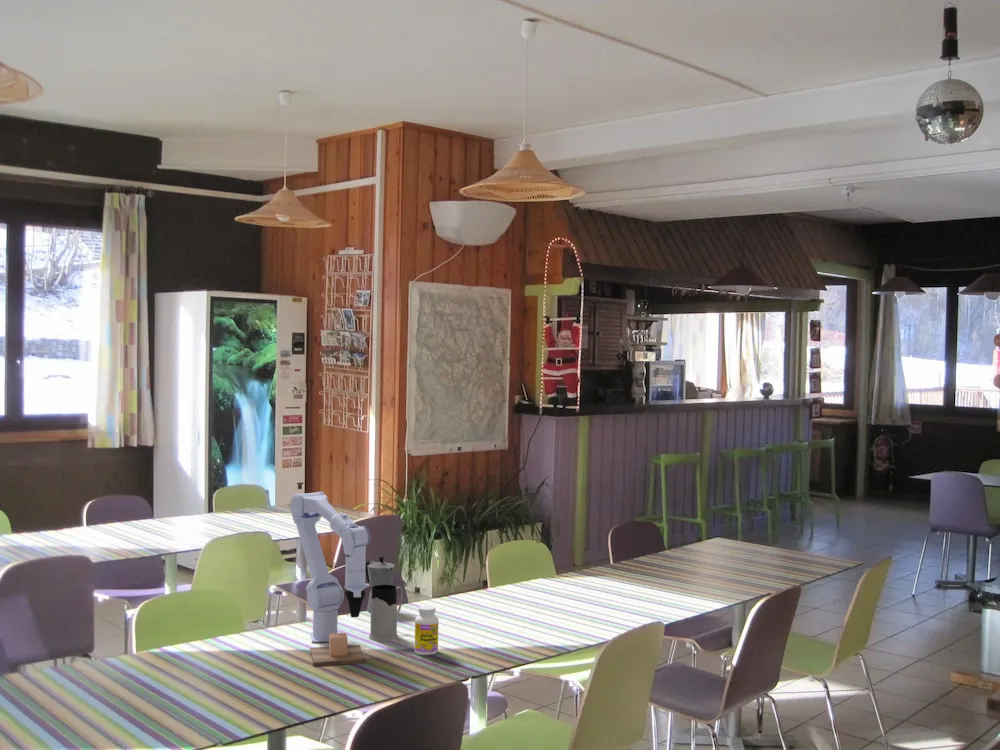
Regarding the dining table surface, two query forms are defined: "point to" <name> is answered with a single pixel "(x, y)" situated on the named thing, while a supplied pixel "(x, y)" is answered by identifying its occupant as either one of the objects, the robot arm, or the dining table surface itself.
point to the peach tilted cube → (338, 644)
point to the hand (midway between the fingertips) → (354, 616)
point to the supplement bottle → (426, 631)
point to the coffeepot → (378, 575)
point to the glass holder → (384, 612)
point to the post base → (323, 656)
